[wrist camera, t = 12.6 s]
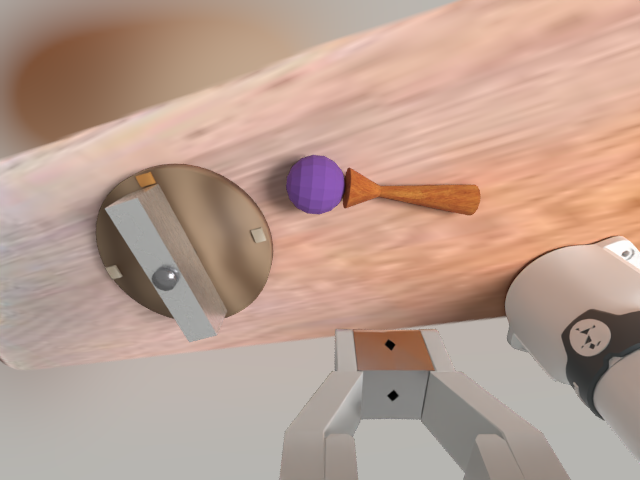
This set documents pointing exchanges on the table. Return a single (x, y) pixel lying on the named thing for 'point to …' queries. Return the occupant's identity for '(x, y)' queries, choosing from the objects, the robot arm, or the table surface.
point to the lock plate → (195, 235)
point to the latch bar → (169, 261)
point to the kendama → (367, 189)
